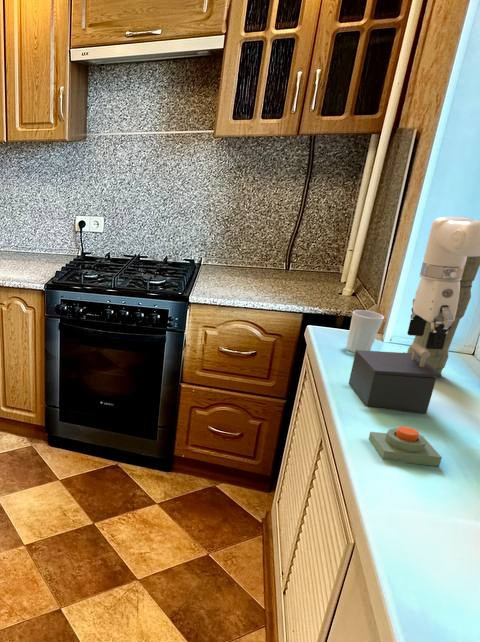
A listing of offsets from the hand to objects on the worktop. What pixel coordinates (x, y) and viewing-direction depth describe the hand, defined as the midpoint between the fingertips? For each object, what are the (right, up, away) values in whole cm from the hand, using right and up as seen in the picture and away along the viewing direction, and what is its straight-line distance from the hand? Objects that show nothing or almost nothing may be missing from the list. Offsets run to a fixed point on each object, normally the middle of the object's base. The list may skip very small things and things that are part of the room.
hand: (424, 341), depth 126 cm
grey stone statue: (+17, -8, +22) cm, 29 cm away
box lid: (-4, -6, +4) cm, 8 cm away
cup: (+9, -3, +37) cm, 38 cm away
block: (-17, -23, -16) cm, 33 cm away
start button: (-17, -20, -17) cm, 31 cm away
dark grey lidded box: (-4, -15, +7) cm, 17 cm away
